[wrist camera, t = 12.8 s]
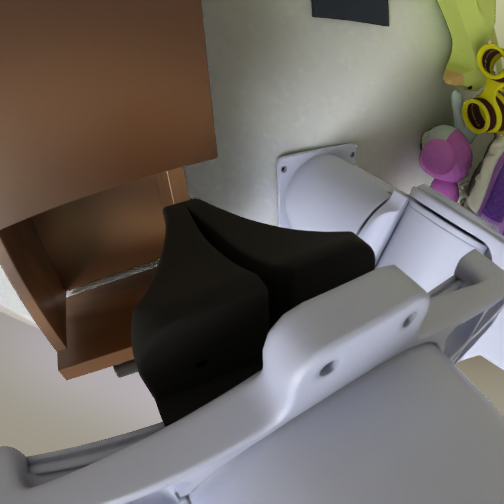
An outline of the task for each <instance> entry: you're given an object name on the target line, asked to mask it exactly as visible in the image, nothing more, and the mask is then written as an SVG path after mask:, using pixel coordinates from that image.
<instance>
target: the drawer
mask: <svg viewBox="0 0 504 504" xmlns="http://www.w3.org/2000/svg"><path fill="white" fill-rule="evenodd" d="M187 200H189V194H188V189H187V183H186V177H185V172H184V167H180V168H176V169H173V170H169V171H166V172H162V173H159V174H155V175H152V176H148V177H145V178H142V179H138V180H135V181H132V182H128V183H125V184H122V185H119V186H116V187H113V188H110V189H107V190H104V191H101V192H98V193H95V194H92V195H89V196H86V197H83V198H80V199H78V200H75V201H72V202H69V203H66V204H64V205H61V206H58V207H56V208H53V209H50V210H48V211H45V212H43V213H40V214H38V215H35V216H33V217H30V218H28V219H25V220H23V221H20V222H18V223H16V224H13V225H11V226H9V227H6V228H4V229H2V230H0V265H1V267H2V269H3V270H4V272H5V274H6V276H7V277H8V279H9V281H10V283H11V284H12V286H13V288H14V289H15V291H16V293H17V294H18V296H19V298H20V299H21V301H22V302H23V304H24V306H25V307H26V309H27V310H28V312H29V313H30V315H31V316H32V318H33V319H34V321H35V322H36V324H37V325H38V327H39V328H40V329H41V331H42V332H43V334H44V335H45V336H46V338H47V339H48V341H49V342H50V343H51V345H52V346H53V347H54V349H55V350H56V351H57V356H58V371H59V372H60V373H61V374H62V375H63V377H64V378H65V379H66V380H68V379H72V378H75V377H78V376H82V375H85V374H88V373H92V372H95V371H98V370H101V369H104V368H107V367H111V366H113V367H114V370H115V372H116V374H117V376H118V377H123V376H126V375H129V374H132V373H135V372H138V369H137V366H136V362H135V359H134V356H133V350H132V341H131V324H132V313H133V309H134V308H135V307H136V305H137V304H138V303H139V301H140V300H141V299H142V297H143V296H144V294H145V293H146V291H147V289H148V287H149V285H150V283H151V281H152V280H153V277H154V275H155V273H156V270H157V267H155V268H152V269H149V270H146V271H143V272H140V273H137V274H134V275H131V276H128V277H125V278H122V279H119V280H116V281H113V282H110V283H108V284H105V285H102V286H99V287H96V288H93V289H90V290H87V291H84V292H82V293H79V294H76V295H73V296H70V297H67V298H66V291H68V290H70V289H73V288H76V287H79V286H82V285H85V284H88V283H90V282H93V281H96V280H99V279H102V278H105V277H108V276H111V275H114V274H117V273H119V272H122V271H125V270H128V269H131V268H134V267H137V266H140V265H143V264H146V263H149V262H152V261H155V260H158V259H160V258H161V255H162V251H163V246H164V239H165V227H166V225H165V220H164V216H163V211H162V210H163V209H164V207H167V206H170V205H173V204H177V203H180V202H184V201H187Z"/></svg>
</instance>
